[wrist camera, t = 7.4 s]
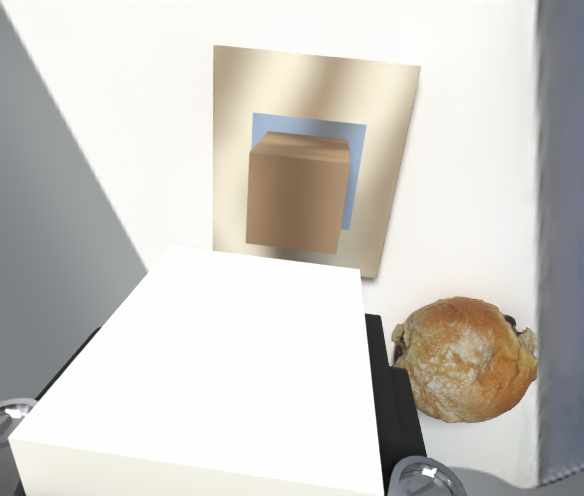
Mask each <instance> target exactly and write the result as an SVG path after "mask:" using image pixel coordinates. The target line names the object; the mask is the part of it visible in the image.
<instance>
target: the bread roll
mask: <svg viewBox="0 0 584 496" xmlns="http://www.w3.org/2000/svg"><path fill="white" fill-rule="evenodd" d="M515 326H516V322H515V319H514V318H513V317H511V316H508V315H503V314H502V313H501V312H500V311H499V309H498V308H497V307H496V306H494V305H492V304H489V303H486V302H484V301H483V300H477V299H471V298H466V297H454V298H451V299H449V298H448V299H443V300H439V301H437V302H435V303H433V304H430V305H427V306H424V307H422V308H420V309H418V310H417V311H415V312H413V313H412V314H411V315H410V316H409V318H408V319H407V321H406V322H405V323H404V324H398V325H397V326H396V328H395V330H394V331H393V333H392V341H396V344H395V354H394V361H393V367H399V368H406V370H407V371H408V374H409V379H410V383H411V387H412V392H413V396H414V401H415V405H416V408H417V409H419V410H420V411H421V412H423V413H425V414H426V415H428V416H430V417H433V418H436V419H442V420H443V421H444V422H446V423H455V422H466V423H473V422H482V421H486V420H490V419H492V418H495V417H497V416H499V415H501V414H503V413H505V412H507V411H509V410H511V409H512V408H513V407H515V406H516V405H517V404H518V403H519V402H520V400H521V399H522V397H523V396H524V395H525V393H526V391H527V389H528V387H529V385H530V384H531V382H533V381H534V380H536V378H537V365H538V363H539V359H538V358H536V357H535V356H534V355H533V353H534V351H535V350H536V349H537V348H538V341H537V340H536V337H535V333H534V332H533V331H531V330H530V329H529V328H527V327H526V330H523V333H522V332H518V331H517V330H516V328H515Z"/></svg>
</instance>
